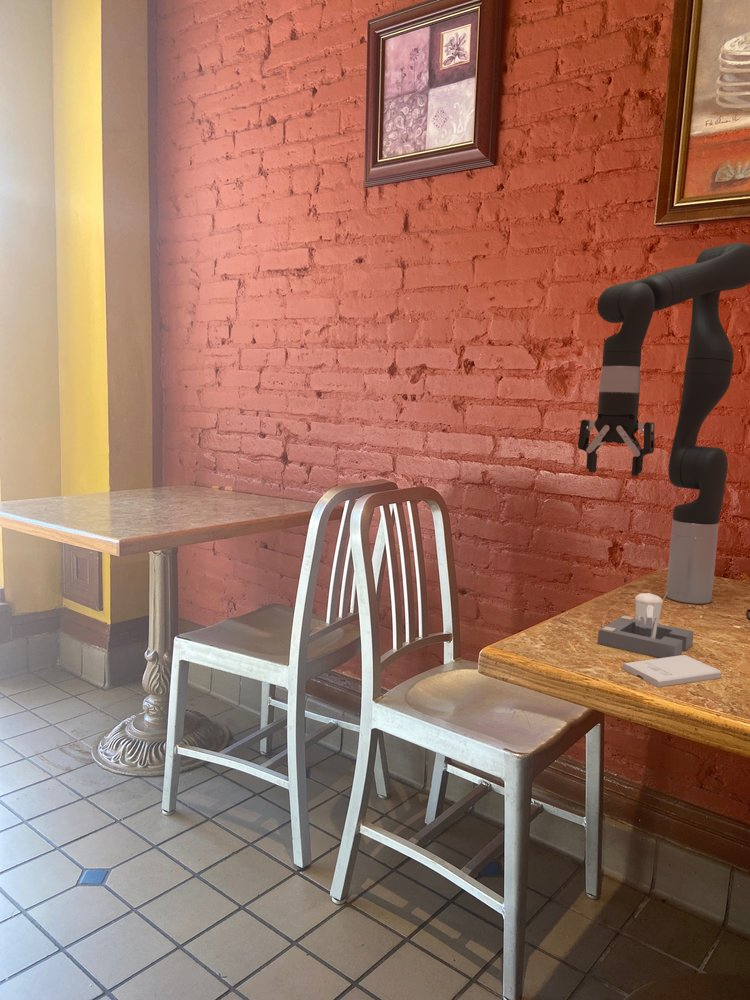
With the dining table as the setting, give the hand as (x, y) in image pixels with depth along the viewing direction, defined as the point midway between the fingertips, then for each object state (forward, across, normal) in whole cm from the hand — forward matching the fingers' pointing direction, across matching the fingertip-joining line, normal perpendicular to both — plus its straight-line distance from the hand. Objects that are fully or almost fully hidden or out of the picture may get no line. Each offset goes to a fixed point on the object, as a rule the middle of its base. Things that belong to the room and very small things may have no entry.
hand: (613, 474), depth 147 cm
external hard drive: (+29, -21, +26) cm, 44 cm away
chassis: (+28, -13, +14) cm, 34 cm away
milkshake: (+28, -13, +14) cm, 34 cm away
